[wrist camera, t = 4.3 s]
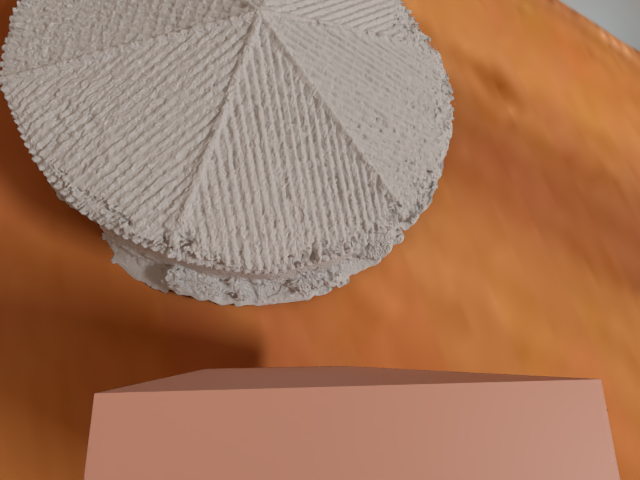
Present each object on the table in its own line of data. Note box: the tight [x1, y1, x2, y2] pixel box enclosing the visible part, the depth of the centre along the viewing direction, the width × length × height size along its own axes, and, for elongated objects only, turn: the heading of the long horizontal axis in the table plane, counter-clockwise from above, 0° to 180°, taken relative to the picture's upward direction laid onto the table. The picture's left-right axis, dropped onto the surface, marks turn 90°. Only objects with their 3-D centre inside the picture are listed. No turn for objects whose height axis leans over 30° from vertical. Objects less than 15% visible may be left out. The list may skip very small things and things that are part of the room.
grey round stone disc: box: [0, 0, 455, 307], centre depth 18 cm, size 20×20×7 cm
